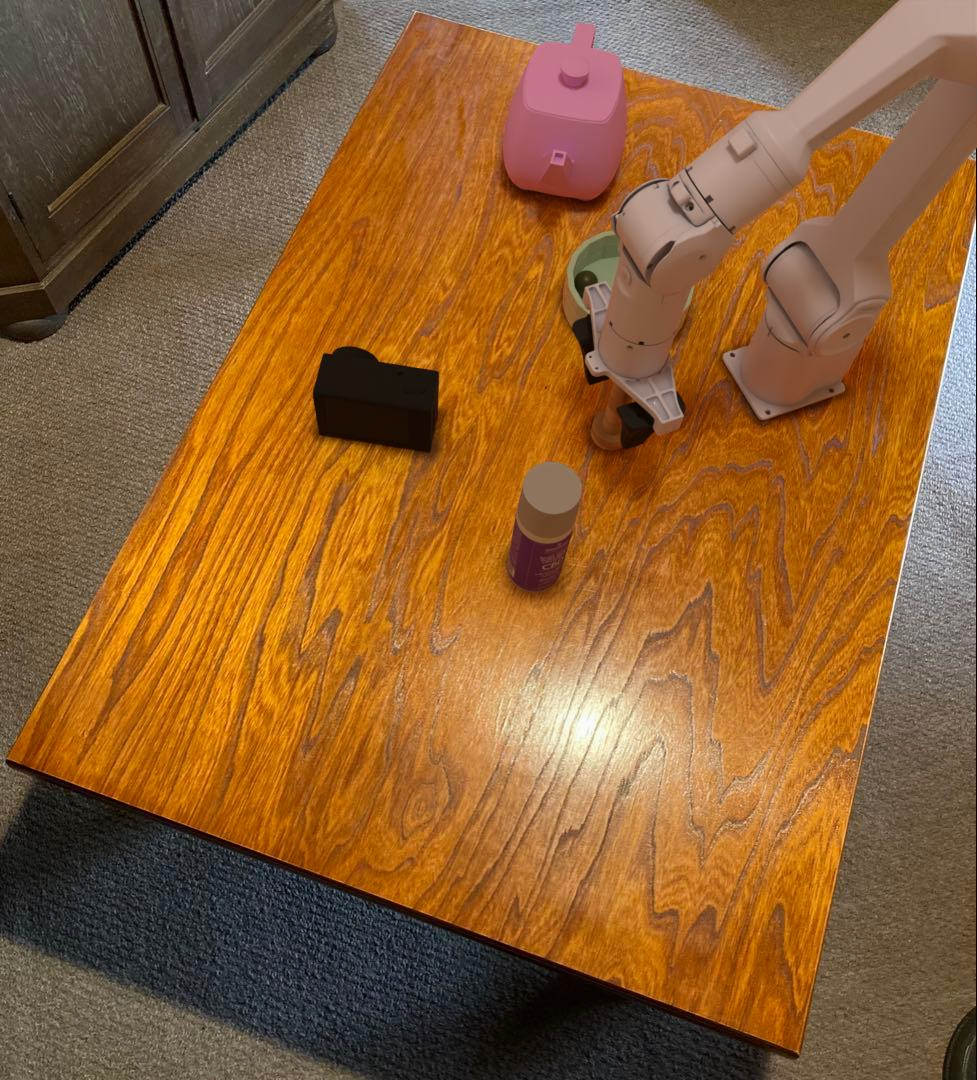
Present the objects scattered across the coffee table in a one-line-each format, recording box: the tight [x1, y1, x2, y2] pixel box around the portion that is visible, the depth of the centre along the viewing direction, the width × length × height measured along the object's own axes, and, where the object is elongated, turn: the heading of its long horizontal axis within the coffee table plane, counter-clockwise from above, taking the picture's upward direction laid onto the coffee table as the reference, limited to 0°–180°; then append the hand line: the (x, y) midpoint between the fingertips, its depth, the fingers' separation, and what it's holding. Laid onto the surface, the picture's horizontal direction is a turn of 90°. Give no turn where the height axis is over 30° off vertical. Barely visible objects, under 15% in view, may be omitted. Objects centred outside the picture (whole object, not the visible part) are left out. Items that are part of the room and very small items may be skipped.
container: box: [506, 461, 583, 594], centre depth 86 cm, size 5×5×15 cm
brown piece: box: [590, 382, 634, 452], centre depth 96 cm, size 4×4×9 cm
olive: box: [574, 270, 598, 295], centre depth 105 cm, size 2×2×2 cm
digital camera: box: [312, 345, 440, 453], centre depth 96 cm, size 10×5×7 cm, turn 81°
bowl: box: [562, 229, 696, 339], centre depth 105 cm, size 12×12×4 cm
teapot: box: [502, 21, 628, 202], centre depth 108 cm, size 20×12×13 cm, turn 169°
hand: (614, 411), depth 96 cm, fingers open, 7 cm apart
